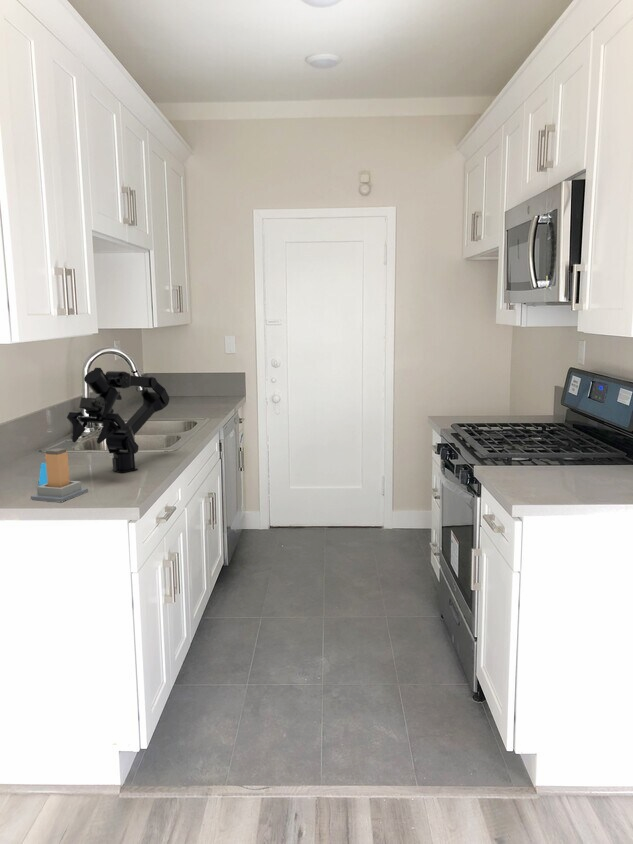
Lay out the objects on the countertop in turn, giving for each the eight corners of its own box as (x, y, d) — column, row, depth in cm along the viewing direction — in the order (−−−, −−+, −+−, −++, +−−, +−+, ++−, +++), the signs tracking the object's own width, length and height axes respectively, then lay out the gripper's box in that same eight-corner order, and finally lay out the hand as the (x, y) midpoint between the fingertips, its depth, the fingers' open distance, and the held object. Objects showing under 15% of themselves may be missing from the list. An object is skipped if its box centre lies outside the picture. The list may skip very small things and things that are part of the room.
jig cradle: (58, 489, 212) (57, 478, 211) (88, 491, 208) (87, 480, 208) (30, 499, 201) (29, 488, 200) (61, 502, 197) (60, 490, 196)
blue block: (64, 502, 214) (65, 474, 230) (62, 483, 211) (63, 456, 227) (41, 504, 212) (43, 476, 228) (38, 485, 209) (41, 457, 225)
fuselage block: (58, 490, 207) (54, 448, 205) (70, 490, 206) (67, 448, 203) (48, 493, 203) (44, 450, 201) (60, 494, 201) (57, 451, 199)
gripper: (68, 386, 220) (47, 426, 212) (117, 388, 214) (97, 428, 206) (85, 407, 229) (66, 446, 220) (133, 409, 223) (115, 449, 214)
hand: (85, 442), depth 215 cm, fingers open, 9 cm apart
